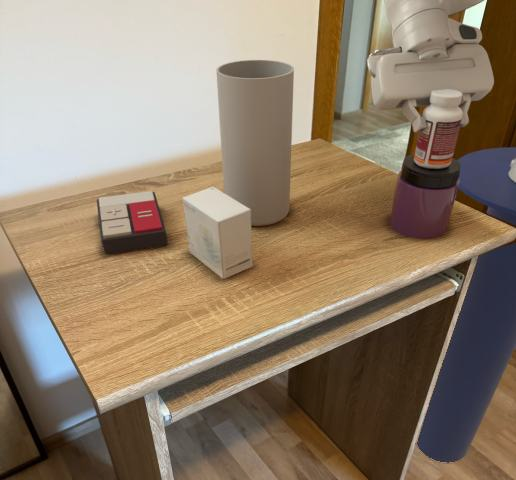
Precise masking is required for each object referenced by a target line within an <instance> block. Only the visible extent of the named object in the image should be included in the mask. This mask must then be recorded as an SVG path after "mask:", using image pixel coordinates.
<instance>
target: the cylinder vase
mask: <svg viewBox="0 0 516 480" xmlns="http://www.w3.org/2000/svg"><path fill="white" fill-rule="evenodd" d="M215 71H216V85H217V87H216V88H217V103H218V117H219V119H218V120H219V133H220V149H221V151H220V152H221V167H222V182H223V183H222V184H223V193H225V194H226V195H228V196H230V197H231V198H233V199H234V200H236V201H238V202H239V203H241V204H243V205H244V206H246V207H247V208H249V209H251V227H260V226H261V227H265V226H270V225H273V224H277V223H278V222H281V221H282V220H283V219H285V218H286V217H287V216H288V214H289V213H290V203H291V201H290V200H291V172H292V171H291V168H292V165H291V164H292V143H293V142H292V140H293V138H292V137H293V112H294V111H293V110H294V109H293V107H294V81H295V80H294V79H295V67H294V66H293V65H291V64H289V63H286V62H284V61H278V60H270V59H246V60H235V61H231V62H226V63H224V64H221V65H219V66H218V67H216V70H215Z"/></svg>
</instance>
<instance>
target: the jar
mask: <svg viewBox="0 0 516 480" xmlns="http://www.w3.org/2000/svg"><path fill="white" fill-rule="evenodd" d="M459 183H460V180H459V178H458V181H457V182H456V183H455V184H454V185H452V186H449V187H445V188H425V187H419V186H416V185H413V184H410V183H408V182H406V181H405V180H404V179H403V178H402V177H401V170H400V171H399V172H398V174H397V177H396V183H395V189H394V195H393V201H392V205H391V210H390V215H389V216H390V217H389V226H390V227H391V229H392V230H393V231H395V232H396V233H398V234H400V235H402V236H405V237H408V238H413V239H418V240H419V239H421V240H422V239H423V240H427V239H435V238H438V237H441V236H443V235H444V234H445V233H447V230H448V226H449V223H450V219H451V216H452V212H453V208H454V205H455V201H456V198H457V193H458V190H459V188H458V187H459Z"/></svg>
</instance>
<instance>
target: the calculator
mask: <svg viewBox="0 0 516 480" xmlns="http://www.w3.org/2000/svg"><path fill="white" fill-rule="evenodd" d="M96 206H97V216H98V225H99V234H100V242H101V245H102V249H103V253H104V254H105V255H112V254H118V253H125V252H131V251H137V250H145V249H151V248H152V249H153V248H158V247H165V246H167V245H168V237H167V230H166V227H165V226H166V225H165V223H164V219H163V216H162V213H161V208H160V206H159V203H158V199H157V195H156V192H155V191H152V190H150V191H140V192H134V193H133V192H132V193H125V194H117V195H109V196H102V197H98V198H97V199H96Z"/></svg>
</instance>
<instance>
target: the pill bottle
mask: <svg viewBox="0 0 516 480" xmlns="http://www.w3.org/2000/svg"><path fill="white" fill-rule="evenodd" d="M461 99H462V93H461V92H460V91H457V90H452V89H443V90H433V91H432V92H431V97H430V102H431V104H430V105H428V106H425V108H424V109H423V110H422V113H421V117H423V116H425V117H426V123H427V128H426V129H425V130H424V131H422V132H418V135H417V140H416V146H415V150H414V154H415V155H414V161H415V163H416V164H417V165H419V166H421V167H424V168H429V169H442V168H446V167H448V166H449V165H450V164H451V161H452V158H453V157H454V154H455V149H456V145H457V140H458V137H459V133H460V129H461V127H460V124H461V120H462V116H463V112H462V110H461V108H459V107H458V105H459V104H460V103H461Z"/></svg>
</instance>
